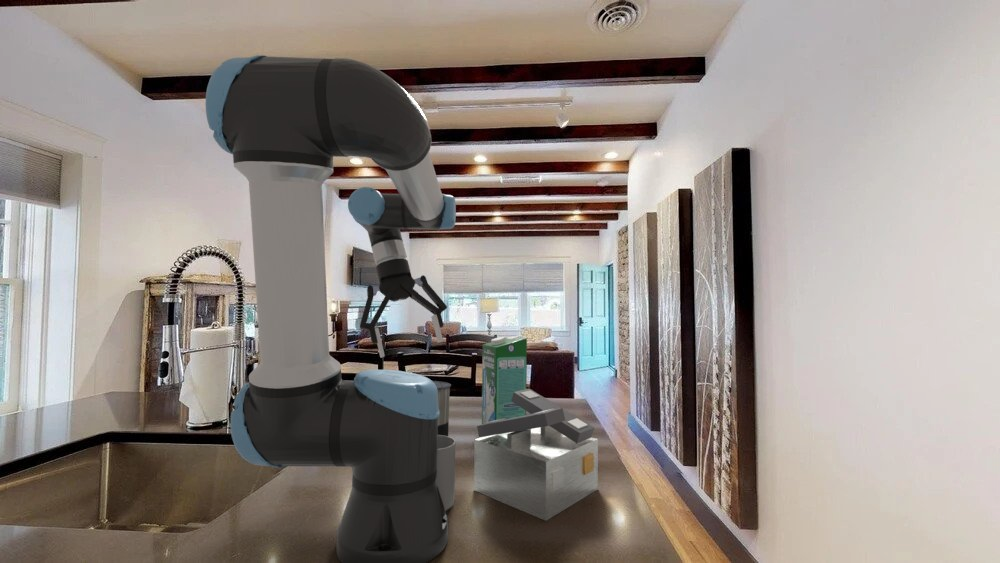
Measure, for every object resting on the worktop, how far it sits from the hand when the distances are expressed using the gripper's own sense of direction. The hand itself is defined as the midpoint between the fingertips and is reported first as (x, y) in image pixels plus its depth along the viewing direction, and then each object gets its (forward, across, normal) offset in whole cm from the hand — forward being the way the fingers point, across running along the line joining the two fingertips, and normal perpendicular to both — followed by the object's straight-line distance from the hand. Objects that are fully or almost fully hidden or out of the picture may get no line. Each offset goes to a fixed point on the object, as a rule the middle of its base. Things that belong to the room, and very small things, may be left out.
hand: (412, 349), depth 99 cm
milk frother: (+22, +5, -5) cm, 23 cm away
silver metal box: (+31, -12, +23) cm, 41 cm away
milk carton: (+27, -20, -13) cm, 36 cm away
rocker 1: (+19, -10, +28) cm, 35 cm away
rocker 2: (+19, -19, +24) cm, 36 cm away
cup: (+27, +7, +22) cm, 35 cm away
